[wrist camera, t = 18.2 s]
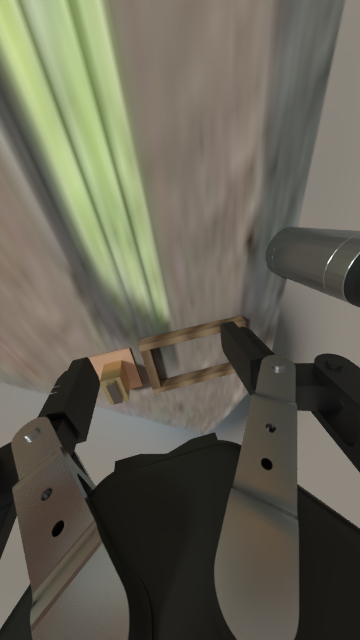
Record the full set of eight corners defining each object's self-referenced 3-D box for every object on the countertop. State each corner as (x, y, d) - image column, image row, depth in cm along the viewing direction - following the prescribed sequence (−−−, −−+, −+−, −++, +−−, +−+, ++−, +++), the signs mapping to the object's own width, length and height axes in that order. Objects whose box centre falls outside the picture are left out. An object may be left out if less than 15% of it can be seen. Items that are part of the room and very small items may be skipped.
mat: (129, 347, 43) (129, 348, 43) (142, 384, 49) (142, 386, 49) (88, 357, 42) (88, 358, 42) (107, 394, 48) (106, 395, 48)
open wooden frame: (240, 315, 45) (245, 320, 43) (240, 363, 52) (245, 370, 50) (138, 339, 43) (138, 346, 41) (153, 386, 50) (154, 394, 48)
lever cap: (121, 359, 44) (119, 380, 38) (129, 381, 47) (128, 403, 42) (103, 364, 44) (98, 385, 38) (113, 385, 47) (110, 407, 41)
